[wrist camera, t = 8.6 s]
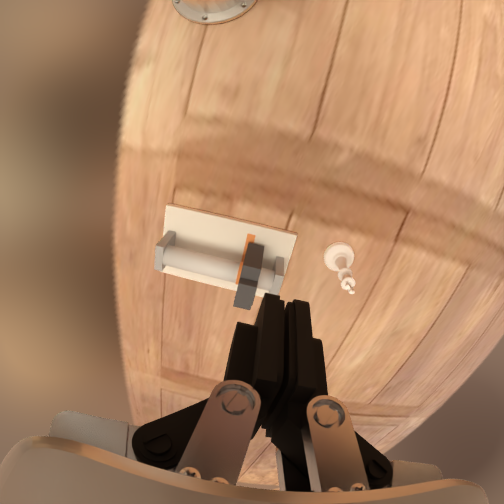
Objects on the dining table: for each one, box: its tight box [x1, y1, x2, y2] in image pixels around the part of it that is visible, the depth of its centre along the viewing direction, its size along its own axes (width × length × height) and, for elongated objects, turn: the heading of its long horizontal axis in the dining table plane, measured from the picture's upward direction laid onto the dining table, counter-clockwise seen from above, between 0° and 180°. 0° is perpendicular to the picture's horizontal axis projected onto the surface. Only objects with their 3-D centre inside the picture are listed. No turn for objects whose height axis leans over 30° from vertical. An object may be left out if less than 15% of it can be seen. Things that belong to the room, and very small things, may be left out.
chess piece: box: [324, 242, 355, 294], centre depth 40 cm, size 5×5×10 cm
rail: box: [154, 203, 297, 297], centre depth 43 cm, size 20×12×7 cm, turn 77°
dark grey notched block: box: [233, 243, 264, 310], centre depth 41 cm, size 2×7×8 cm, turn 168°
